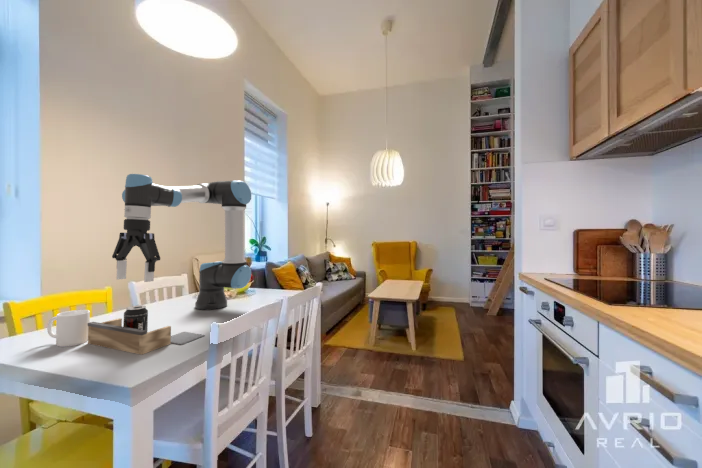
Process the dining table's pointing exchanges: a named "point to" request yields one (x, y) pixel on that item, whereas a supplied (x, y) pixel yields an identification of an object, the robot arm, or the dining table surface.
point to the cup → (70, 327)
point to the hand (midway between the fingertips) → (134, 280)
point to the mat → (184, 337)
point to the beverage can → (136, 317)
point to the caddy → (127, 337)
